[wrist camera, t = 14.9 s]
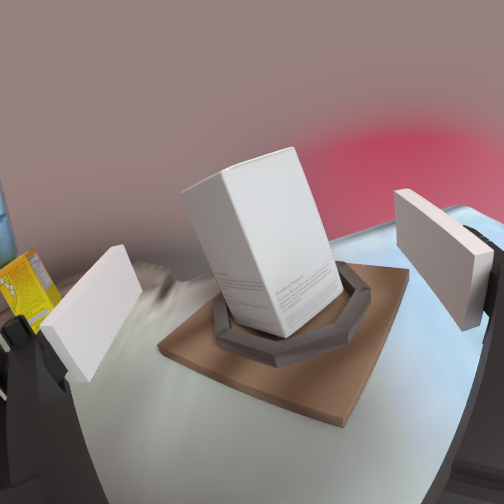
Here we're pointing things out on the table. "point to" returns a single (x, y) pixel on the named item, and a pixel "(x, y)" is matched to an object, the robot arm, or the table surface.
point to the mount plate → (307, 377)
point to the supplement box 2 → (265, 242)
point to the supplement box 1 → (29, 288)
